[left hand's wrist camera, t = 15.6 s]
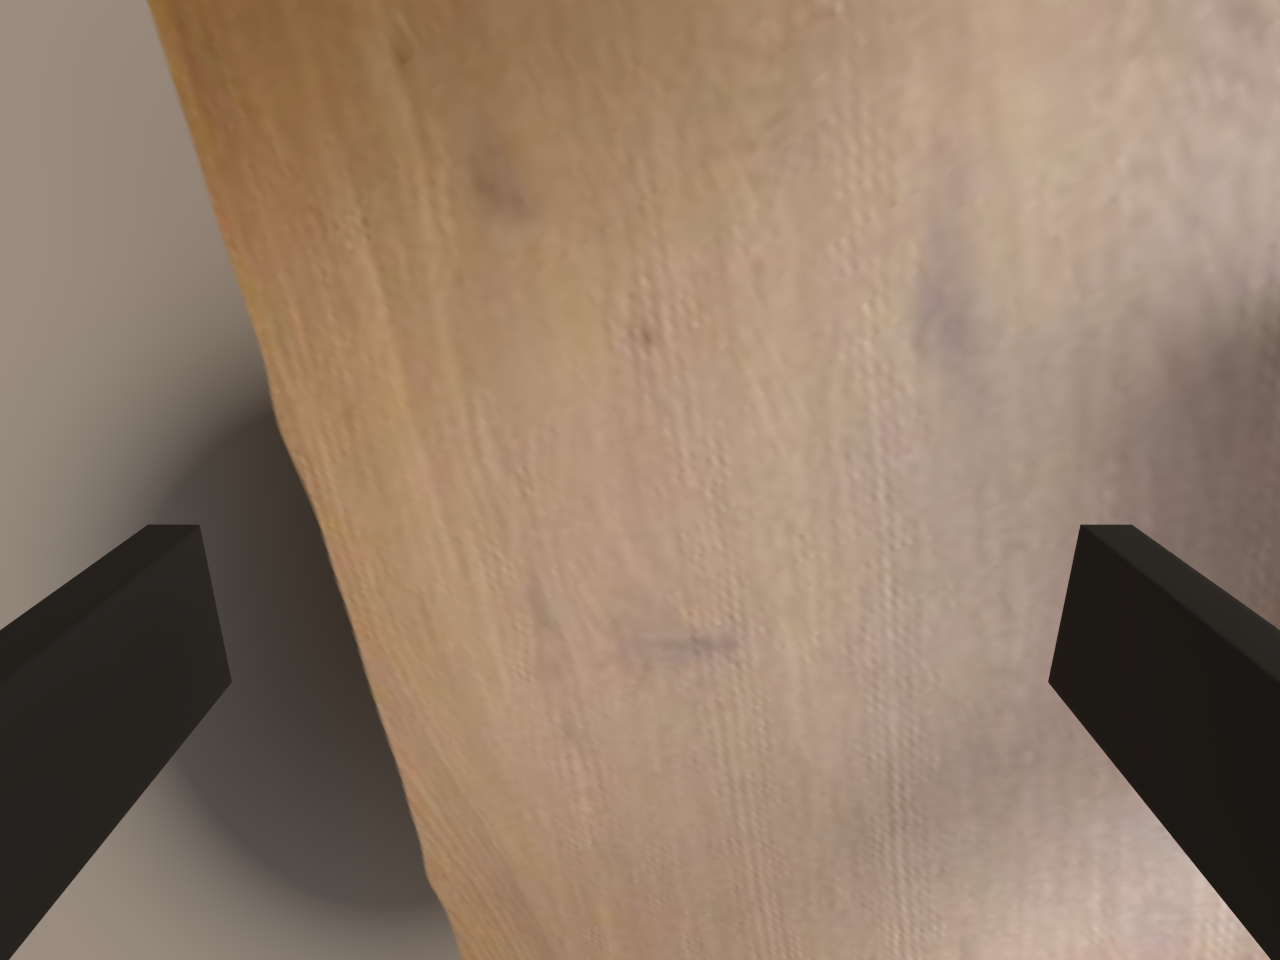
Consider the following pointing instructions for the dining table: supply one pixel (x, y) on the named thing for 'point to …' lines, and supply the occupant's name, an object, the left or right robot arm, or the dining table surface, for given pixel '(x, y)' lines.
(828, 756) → the dining table surface
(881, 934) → the dining table surface
